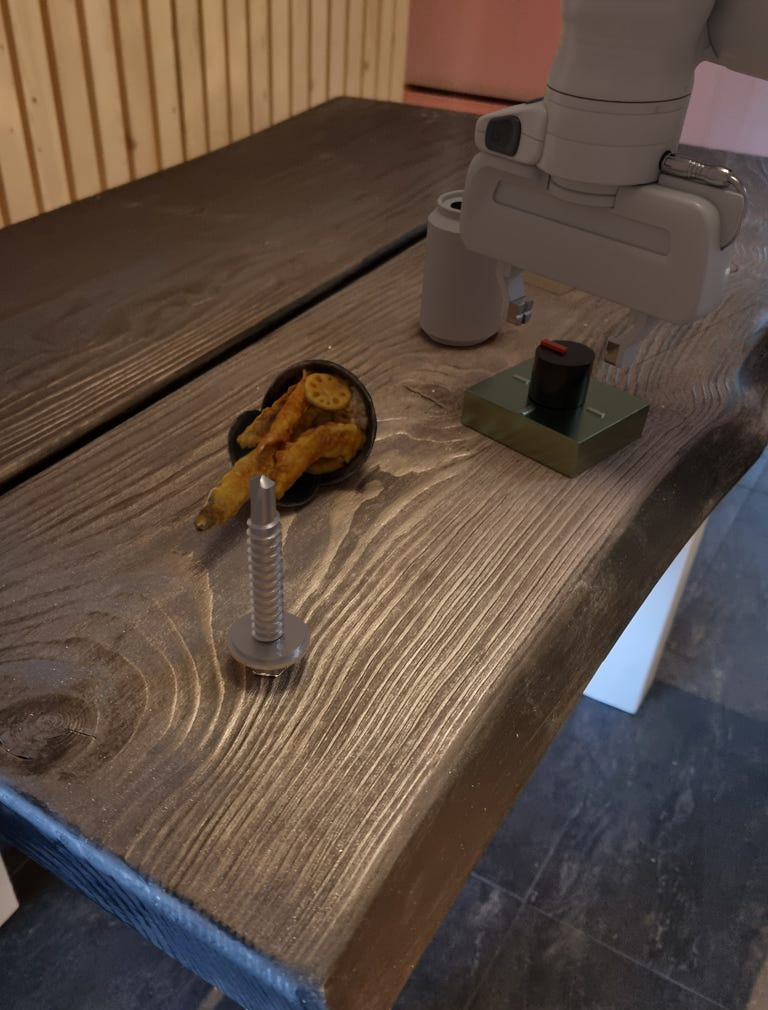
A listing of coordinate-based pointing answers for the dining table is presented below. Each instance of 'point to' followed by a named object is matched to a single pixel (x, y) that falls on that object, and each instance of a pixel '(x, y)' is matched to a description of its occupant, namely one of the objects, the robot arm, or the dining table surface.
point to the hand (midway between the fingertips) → (564, 342)
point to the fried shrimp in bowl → (296, 439)
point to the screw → (266, 594)
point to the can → (457, 282)
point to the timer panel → (554, 420)
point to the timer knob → (561, 373)
